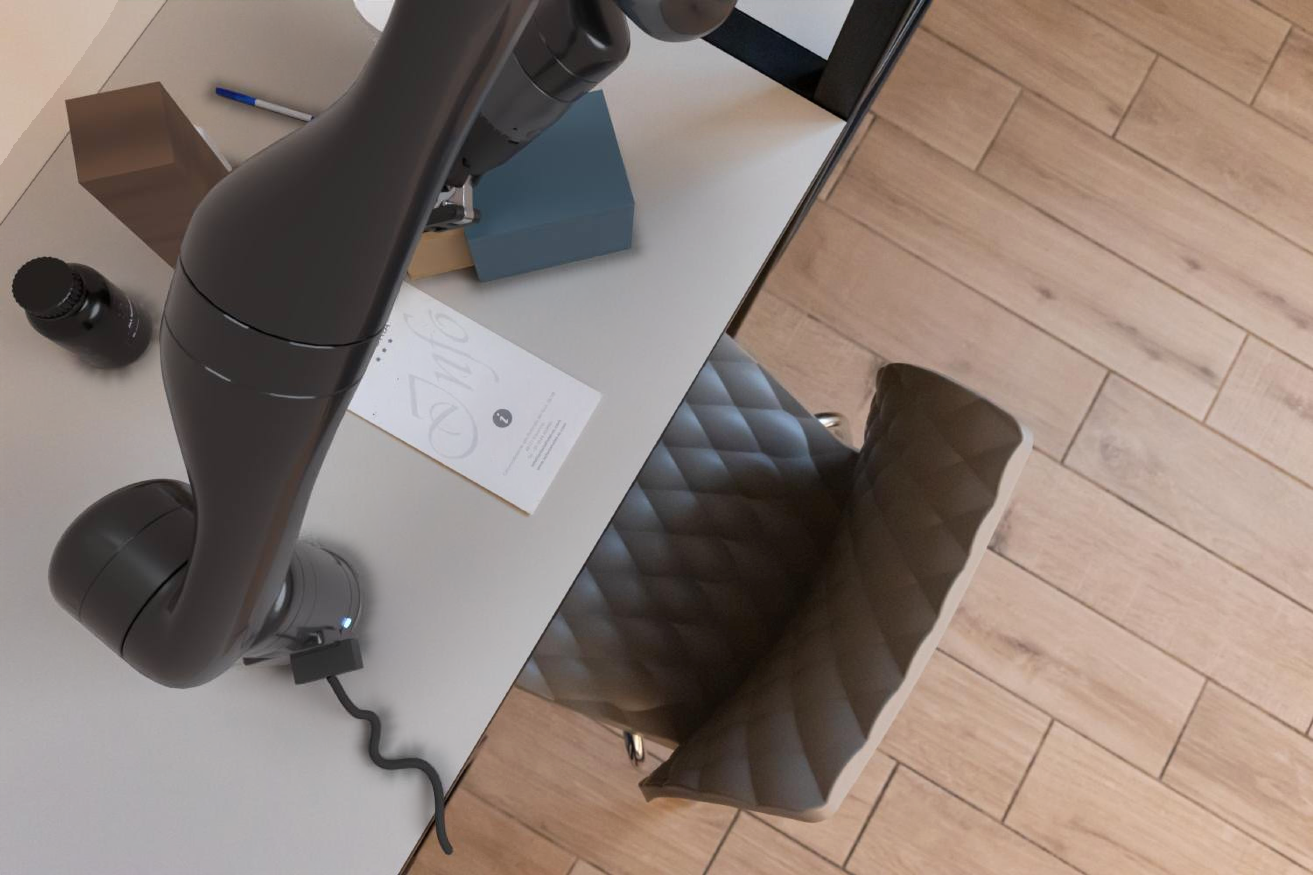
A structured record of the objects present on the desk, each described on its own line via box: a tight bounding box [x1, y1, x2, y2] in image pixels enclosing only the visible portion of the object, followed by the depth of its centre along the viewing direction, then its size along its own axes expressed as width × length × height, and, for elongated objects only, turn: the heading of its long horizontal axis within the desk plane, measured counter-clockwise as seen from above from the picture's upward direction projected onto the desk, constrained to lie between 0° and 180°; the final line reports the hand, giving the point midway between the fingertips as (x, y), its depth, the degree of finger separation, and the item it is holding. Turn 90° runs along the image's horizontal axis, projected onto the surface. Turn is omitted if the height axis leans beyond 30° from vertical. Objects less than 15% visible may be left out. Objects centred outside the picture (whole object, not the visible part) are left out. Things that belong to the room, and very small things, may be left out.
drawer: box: [399, 193, 475, 292], centre depth 87 cm, size 19×10×8 cm, turn 105°
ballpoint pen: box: [214, 86, 316, 122], centre depth 94 cm, size 10×1×1 cm, turn 75°
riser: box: [64, 80, 229, 271], centre depth 77 cm, size 6×6×28 cm
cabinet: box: [455, 89, 636, 283], centre depth 89 cm, size 15×11×10 cm
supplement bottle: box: [11, 255, 153, 370], centre depth 83 cm, size 7×7×12 cm
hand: (381, 202), depth 83 cm, fingers closed on chocolate carton, 4 cm apart
